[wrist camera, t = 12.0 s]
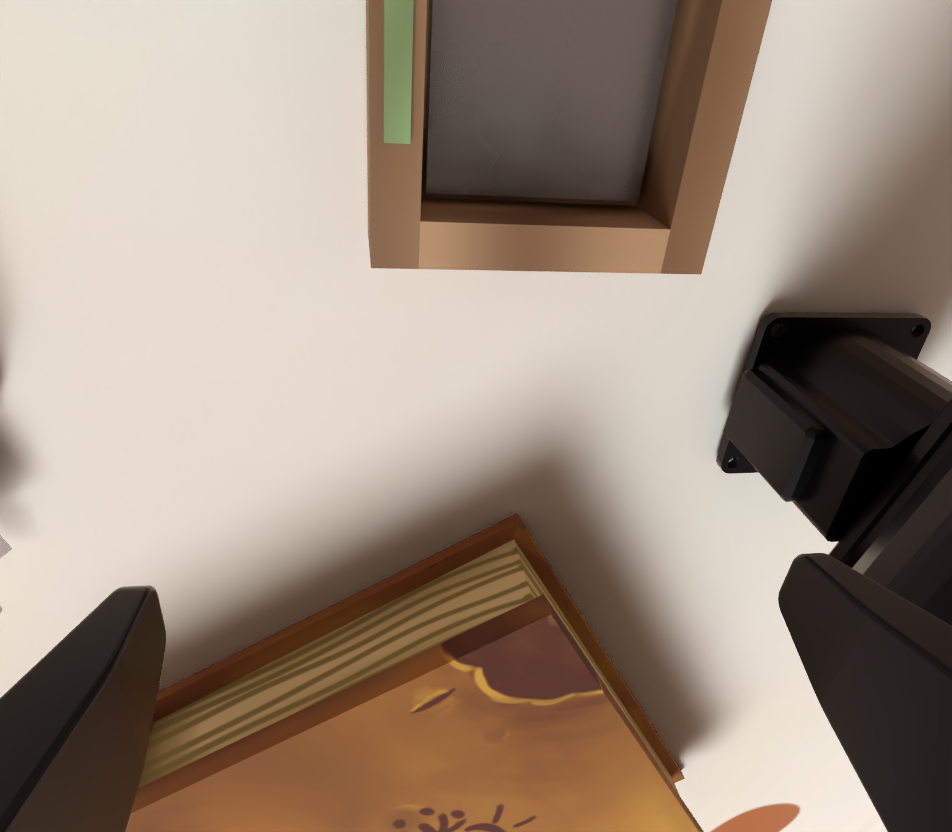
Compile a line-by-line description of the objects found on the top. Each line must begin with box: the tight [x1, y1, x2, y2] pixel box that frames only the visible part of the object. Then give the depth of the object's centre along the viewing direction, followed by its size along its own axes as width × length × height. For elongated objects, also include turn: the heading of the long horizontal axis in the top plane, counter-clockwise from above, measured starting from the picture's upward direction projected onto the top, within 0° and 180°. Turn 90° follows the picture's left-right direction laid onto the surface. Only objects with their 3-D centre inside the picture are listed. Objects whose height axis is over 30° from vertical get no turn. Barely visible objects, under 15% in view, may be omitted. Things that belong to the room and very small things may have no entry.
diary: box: [125, 514, 703, 832], centre depth 31 cm, size 23×19×6 cm
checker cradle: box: [366, 0, 772, 274], centre depth 16 cm, size 9×9×3 cm
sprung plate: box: [423, 0, 678, 202], centre depth 17 cm, size 6×6×1 cm
